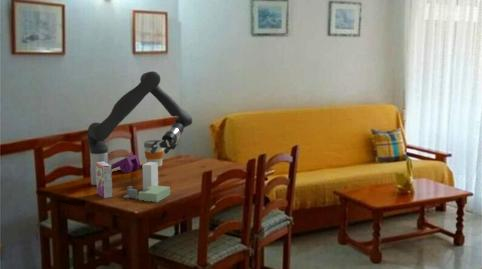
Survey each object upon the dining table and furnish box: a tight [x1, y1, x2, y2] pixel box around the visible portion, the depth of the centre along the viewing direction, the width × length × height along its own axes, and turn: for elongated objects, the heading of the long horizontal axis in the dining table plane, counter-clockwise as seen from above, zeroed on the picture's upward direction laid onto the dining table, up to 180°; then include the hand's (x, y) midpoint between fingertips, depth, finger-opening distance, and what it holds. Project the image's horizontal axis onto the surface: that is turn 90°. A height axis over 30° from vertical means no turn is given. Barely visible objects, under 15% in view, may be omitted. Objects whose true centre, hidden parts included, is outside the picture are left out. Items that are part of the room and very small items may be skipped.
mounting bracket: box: [110, 154, 141, 174], centre depth 326 cm, size 9×8×18 cm
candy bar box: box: [95, 162, 114, 200], centre depth 271 cm, size 11×5×16 cm, turn 33°
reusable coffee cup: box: [143, 139, 165, 168], centre depth 338 cm, size 13×13×15 cm
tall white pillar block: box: [141, 162, 159, 190], centre depth 282 cm, size 7×5×14 cm
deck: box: [122, 185, 171, 203], centre depth 270 cm, size 14×19×4 cm
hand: (158, 152), depth 293 cm, fingers open, 8 cm apart
